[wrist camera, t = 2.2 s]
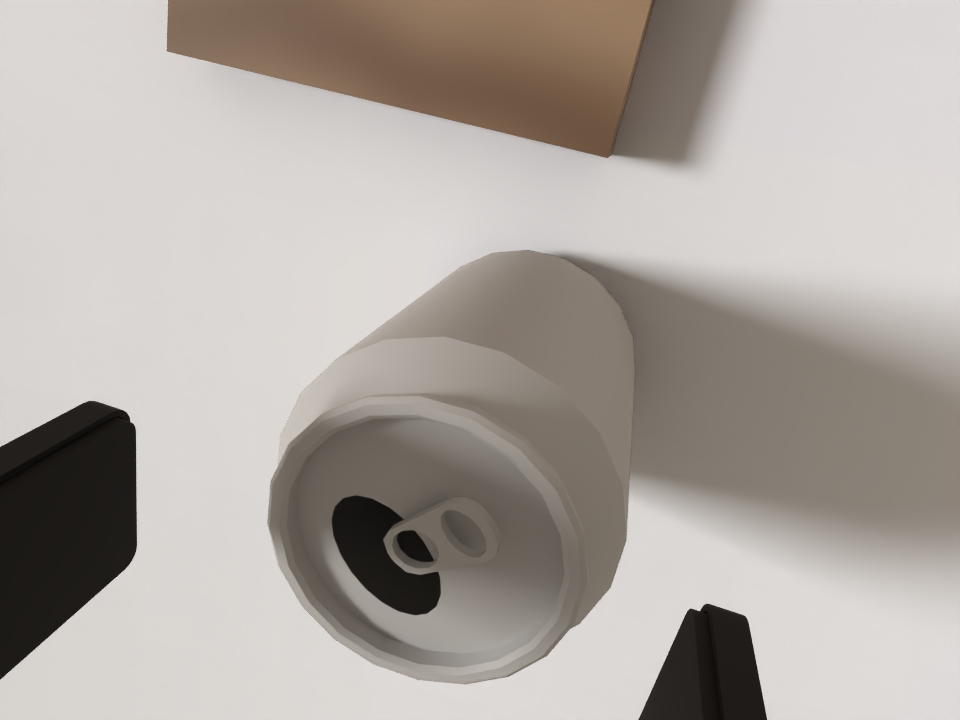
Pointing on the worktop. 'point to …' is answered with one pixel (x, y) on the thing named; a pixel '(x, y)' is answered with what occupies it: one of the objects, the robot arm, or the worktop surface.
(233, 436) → the worktop surface
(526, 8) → the walnut board
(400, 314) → the can
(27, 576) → the robot arm
